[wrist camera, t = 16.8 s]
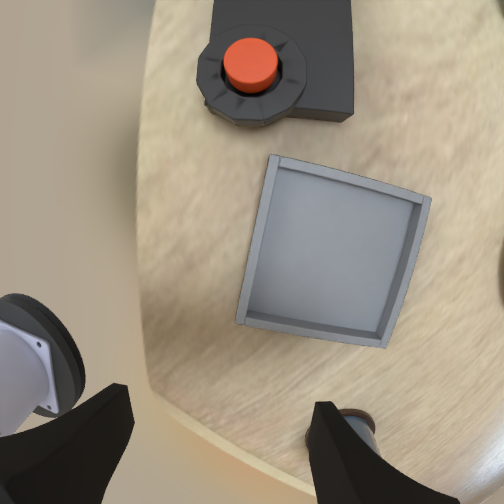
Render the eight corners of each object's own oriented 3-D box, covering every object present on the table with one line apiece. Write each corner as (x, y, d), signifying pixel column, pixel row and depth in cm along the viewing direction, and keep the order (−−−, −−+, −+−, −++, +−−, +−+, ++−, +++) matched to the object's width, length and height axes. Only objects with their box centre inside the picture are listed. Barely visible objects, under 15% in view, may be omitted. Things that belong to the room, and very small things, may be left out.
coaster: (296, 454, 24) (297, 457, 24) (318, 405, 23) (318, 408, 22) (358, 457, 24) (359, 459, 24) (385, 410, 23) (386, 413, 22)
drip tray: (236, 312, 21) (234, 323, 20) (269, 155, 19) (270, 153, 17) (378, 337, 21) (386, 348, 20) (420, 195, 19) (432, 197, 17)
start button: (275, 94, 14) (276, 84, 13) (225, 93, 14) (221, 83, 13) (277, 51, 14) (278, 38, 12) (228, 50, 14) (224, 36, 12)
